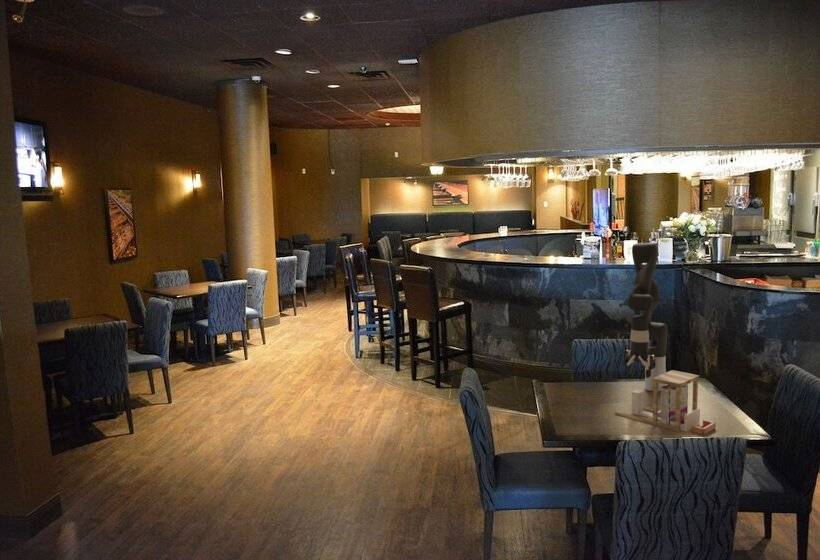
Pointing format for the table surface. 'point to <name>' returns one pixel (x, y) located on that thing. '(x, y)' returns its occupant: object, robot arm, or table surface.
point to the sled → (637, 409)
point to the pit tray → (704, 428)
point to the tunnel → (678, 381)
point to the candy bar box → (673, 403)
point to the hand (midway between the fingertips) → (638, 375)
